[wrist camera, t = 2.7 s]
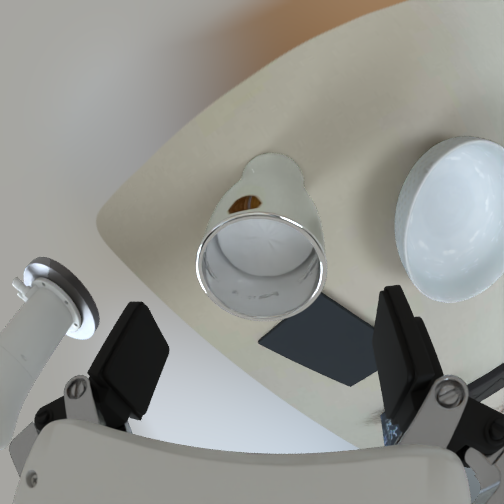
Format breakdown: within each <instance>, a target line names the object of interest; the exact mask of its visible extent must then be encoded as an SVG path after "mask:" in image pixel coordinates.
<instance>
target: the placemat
mask: <svg viewBox="0 0 504 504" xmlns="http://www.w3.org/2000/svg"><path fill="white" fill-rule="evenodd" d="M373 332H374V327H372V326H371V325H369V324H368V323H366V322H365V321H363V320H362V319H360V318H359V317H357V316H356V315H354V314H353V313H351V312H350V311H349V310H347V309H346V308H344V307H343V306H341V305H340V304H338V303H337V302H335V301H334V300H332V299H331V298H329V297H328V296H326V295H325V294H323V293H322V292H321V293H320V295H319V296H318V297H317V299H316V300H315V301H314V302H313V303H312V304H311V305H310V306H309V307H307V308H306V309H305V310H303V311H302V312H300V313H298V314H296V315H294V316H291V317H288V318H285V319H284V320H282V321H281V322H280V323H279V324H278V325H277V326H275V327H274V328H273V329H272V330H271V331H269V332H268V333H267V334H266V335H265V336H263V337H262V338H261V339H260V340H259V341H258V344H260V345H262V346H264V347H266V348H268V349H270V350H272V351H274V352H276V353H278V354H280V355H282V356H284V357H286V358H288V359H290V360H292V361H294V362H297V363H299V364H301V365H303V366H305V367H307V368H309V369H311V370H314V371H316V372H318V373H320V374H322V375H325V376H327V377H329V378H331V379H334V380H336V381H338V382H340V383H343V384H345V385H347V386H350V387H351V386H353V385H354V384H356V383H358V382H360V381H361V380H363V379H365V378H366V377H368V376H369V375H371V374H373V373H374V372H376V371H377V365H376V360H375V356H374V351H373V346H372V337H373Z"/></svg>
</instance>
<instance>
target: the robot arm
mask: <svg viewBox="0 0 504 504" xmlns="http://www.w3.org/2000/svg"><path fill="white" fill-rule="evenodd" d="M12 285H13V286H14V287H15V288H16V289H17V290H18V291H19V292H18V296H19V297H20V298H21V299H23V300H24V302H25V303H24V304H23V306H22V307H21V308H20V309H19V310H18V312H17V313H16V314H15V315H14V316H13V318H12V319H11V320H10V321H9V323H8V324H7V325H6V326H5V328H4V329H3V330H2V332H1V333H0V450H3V449H5V448H6V447H7V446H8V445H9V444H10V441H11V440H12V437H13V433H14V430H15V426H16V422H17V419H18V416H19V413H20V410H21V408H22V405H23V403H24V401H25V399H26V397H27V395H28V393H29V391H30V390H31V388H32V386H33V384H34V383H35V381H36V379H37V378H38V376H39V374H40V373H41V371H42V369H43V368H44V366H45V365H46V363H47V361H48V360H49V358H50V357H51V355H52V354H53V352H54V350H55V349H56V347H57V346H58V344H59V343H60V341H61V340H62V338H63V337H64V335H65V334H66V333H67V332H76V331H77V330H78V329H79V328H80V326H81V324H82V319H81V314H80V312H79V310H78V308H77V306H76V304H75V303H74V301H73V300H72V298H71V297H70V296H69V295H68V294H67V293H66V292H65V291H64V290H63V289H62V288H61V287H60V286H59V285H57V284H56V283H55V282H53V281H51V280H49V279H47V278H43V277H39V278H36V279H35V280H34V281H33V282H32V284H31V287H30V286H26V285H25V284H24V283H23V282H22V281H21V280H20V279H19V278H18V277H16V278H15V279H14V280H13V282H12ZM372 346H373V351H374V356H375V360H376V365H377V370H378V375H379V380H380V386H381V391H382V397H383V403H384V409H385V415H386V418H387V419H391V425H396V424H399V430H400V431H401V432H402V433H401V434H400V436H399V437H398V439H397V440H396V442H395V443H394V445H392V446H383V447H375V448H366V449H358V450H349V451H340V452H339V451H338V452H325V453H306V454H262V453H244V452H243V453H242V452H232V451H221V450H213V449H212V450H211V449H205V448H198V447H191V446H185V445H180V444H174V443H169V442H164V441H160V440H155V439H151V438H146V437H142V436H138V435H135V434H132V431H131V428H130V426H129V423H128V418H129V417H130V418H133V419H136V420H141V419H142V416H143V415H144V414H145V413H146V411H147V409H148V406H149V404H150V401H151V398H152V396H153V393H154V390H155V388H156V385H157V383H158V380H159V377H160V375H161V372H162V370H163V367H164V365H165V362H166V359H167V357H168V354H169V346H168V344H167V342H166V340H165V338H164V337H163V335H162V333H161V331H160V329H159V328H158V326H157V324H156V322H155V320H154V318H153V316H152V314H151V312H150V310H149V308H148V307H147V306H146V305H145V304H144V303H143V302H129V303H128V305H127V306H126V308H125V309H124V311H123V313H122V314H121V316H120V317H119V319H118V321H117V322H116V324H115V326H114V327H113V329H112V330H111V332H110V334H109V336H108V337H107V339H106V341H105V343H104V344H103V346H102V348H101V349H100V351H99V353H98V354H97V356H96V358H95V360H94V362H93V363H92V365H91V367H90V369H89V370H88V374H89V375H90V377H89V379H88V378H87V377H86V376H84V375H78V376H75V377H73V378H71V379H70V380H69V381H68V383H67V384H66V386H65V389H64V396H62V397H60V398H59V399H57V400H55V401H53V402H51V403H49V404H47V405H45V406H43V407H42V408H40V409H39V411H38V412H37V414H36V415H35V423H33V422H31V423H30V424H29V425H28V426H27V427H26V428H25V429H24V430H23V431H22V432H21V433H20V434H18V435H17V436H16V437H15V438H14V439H13V441H12V442H11V444H10V447H9V451H10V455H11V458H12V460H13V463H14V465H15V467H16V470H17V472H18V474H19V476H20V480H19V483H18V486H17V489H16V493H15V496H14V500H13V504H471V496H470V489H469V484H468V479H467V475H466V472H465V469H464V467H467V468H470V467H471V468H472V469H473V471H474V472H475V473H476V474H475V477H476V478H477V479H478V481H479V483H480V492H479V495H478V497H477V498H476V500H475V501H474V502H473V503H472V504H504V414H502V413H500V412H498V411H496V410H494V409H492V408H490V407H488V406H486V405H484V404H482V403H480V402H478V401H476V400H474V399H473V398H471V397H469V392H468V388H467V385H466V383H465V382H464V381H463V380H462V379H461V378H459V377H457V376H454V375H445V376H444V374H443V371H442V369H441V366H440V363H439V360H438V357H437V355H436V352H435V349H434V347H433V344H432V342H431V339H430V337H429V334H428V332H427V329H426V327H425V324H424V322H423V320H422V318H420V317H414V316H413V313H412V311H411V308H410V306H409V304H408V301H407V299H406V297H405V295H404V292H403V290H402V288H401V286H400V285H394V286H386V287H385V288H384V291H380V294H379V301H378V308H377V314H376V320H375V326H374V332H373V337H372Z"/></svg>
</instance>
